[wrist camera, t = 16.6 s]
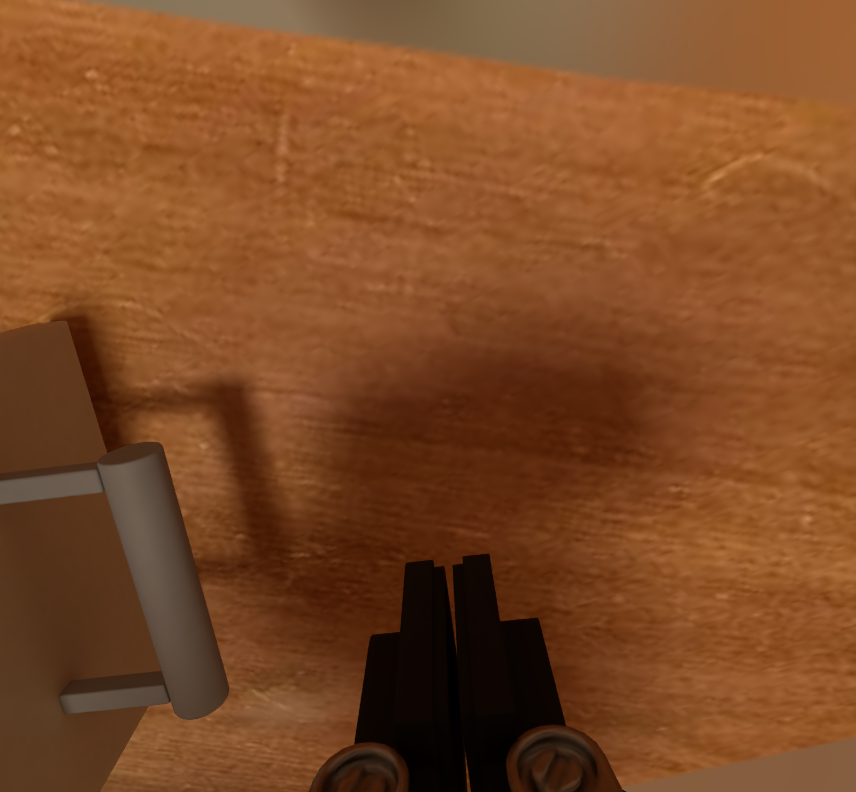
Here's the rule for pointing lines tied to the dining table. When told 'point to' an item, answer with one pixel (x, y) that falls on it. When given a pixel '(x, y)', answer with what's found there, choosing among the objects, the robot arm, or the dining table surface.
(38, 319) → the dining table surface
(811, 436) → the dining table surface
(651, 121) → the dining table surface
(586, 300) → the dining table surface
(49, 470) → the drawer
